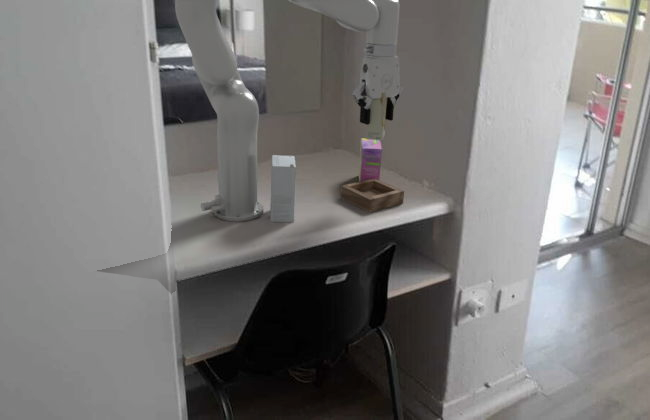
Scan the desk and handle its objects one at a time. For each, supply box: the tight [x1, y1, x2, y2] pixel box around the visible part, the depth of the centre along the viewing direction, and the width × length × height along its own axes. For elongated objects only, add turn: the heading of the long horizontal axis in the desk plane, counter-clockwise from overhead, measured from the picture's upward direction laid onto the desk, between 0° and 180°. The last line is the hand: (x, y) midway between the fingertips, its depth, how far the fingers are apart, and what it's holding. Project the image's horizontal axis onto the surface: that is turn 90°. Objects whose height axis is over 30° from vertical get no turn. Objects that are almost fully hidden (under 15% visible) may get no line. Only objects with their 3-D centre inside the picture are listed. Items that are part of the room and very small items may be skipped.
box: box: [357, 137, 383, 182], centre depth 174 cm, size 10×6×12 cm, turn 179°
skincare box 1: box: [269, 154, 297, 223], centre depth 148 cm, size 8×6×15 cm
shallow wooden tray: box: [340, 178, 405, 213], centre depth 162 cm, size 12×12×4 cm
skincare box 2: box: [365, 93, 387, 141], centre depth 154 cm, size 6×4×12 cm
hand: (376, 120), depth 154 cm, fingers closed on skincare box 2, 7 cm apart
